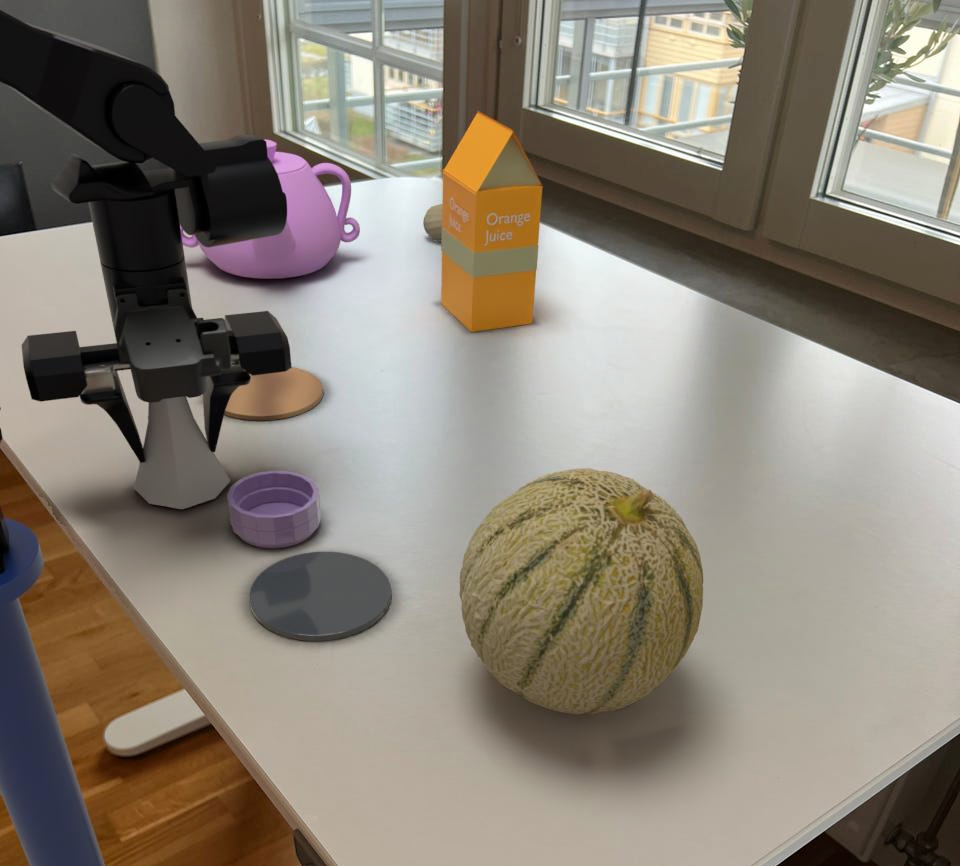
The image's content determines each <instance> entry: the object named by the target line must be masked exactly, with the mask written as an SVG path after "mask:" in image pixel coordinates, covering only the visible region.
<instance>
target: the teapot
mask: <svg viewBox="0 0 960 866" xmlns="http://www.w3.org/2000/svg"><path fill="white" fill-rule="evenodd" d="M264 140H265V141H266V143H267V154H268V158H269V159H270V161H271V162H272V164H273V166H274V168H275V170H276V172H277V174H278V177H279V180H280V183H281V187H282V191H283V192H284V193H285V194H286V199H287V220H286V225H285V228H284V230H283V231H282V233H280V234H278V235H275V236H269V237H264V238H258V239H253V240H248V241H242V242H237V243H231V244H226V245H220V246H215V247H210V248H209V247H205V246H203V245H202V244H201V243H200V242H199V241H198V240H197V238H196V237H195V235H191V237H189V236H187V235H185V234H184V230H183V229H182V227H181V225H180V229H181V236H182V243H183V247H186V248H191V249H192V248H196V247H198V246H199V248H200V250H201V251H202V253H203V254H204V255H205V256H206V257H207V259H209V260H210V261H211V262H212V263H213V264H214V265H215V266H216V267H217V268H218V269H220V270H222V271H223V272H225V273H228V274H231V275H235V276H238V277H242V278H251V279H263V280H264V279H267V280H269V279H274V280H275V279H287V278H295V277H300V276H305V275H309V274H312V273H314V272H317V271H319V270H321V269H323V268H324V267H325V266H326V265H327V264H328V263H329V262H330V261H331V260H332V258H333V257H334V255H335V254H336V252H337V251H338V249H339V248H340V245H341V242H343V243H352V242H353V241H356V240H357V239H358V238H359V236H360V232H361V227H360V224H359V222H358V220H357V219H356V218H354V217H347V216H348V211H349V208H350V204H351V203H350V202H351V196H352V182H351V179H350V176H349V174H348V173H347V172H346V171H345V170H344V169H343V168H342V167H340V166H339V165H336V164H334V163H330V162H322V163H318V164H316V165H314V166H313V167H311V166H310V164H309V163H308V161H307V160H306V159H304V158H303V157H301V156H299V155H297V154H293V153H289V152H283V151H276V150H277V145H278V144H277V142H276V141H273V140H271V139H264ZM324 174H325V175H326V174H327V175H328V174H329V175H333V176H336V177H338V178H339V180H340V182H341V198H340V203H339V208H338V210H337V211H338V213H337V211H336V208H335V206H334V204H333V202H332V199H331V197H330V195H329V194H328V191H327V190H326V189H325V186H324V185H323V184H322V182H321V180H320V179H319V177H318V176H320V175H324ZM348 225H350V226H352V230H351V231H349V232H346V230H345V226H348Z"/></svg>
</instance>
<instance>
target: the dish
mask: <svg viewBox="0 0 960 866" xmlns="http://www.w3.org/2000/svg"><path fill="white" fill-rule="evenodd" d="M317 486H318V485H317V483H316V482H315V481H314V480H312V479H311V478H309V477H308V476H307V475H305V474H302V473H298V472H295V471H289V470H267V471H259V472H254V473H252V474H250V475H247V476H244V477H242V478H240V479H239V480H237V481H235V483H233V484H232V485H231V486H230V488H229V490H228V492H227V495H226V500H227V507H228V514H229V518H230V519H229V520H230V525H231V529H232V531H233V533H234V534H236V535H237V536H238V537H239V538H240V539H241V540H242V541H243V542H245V543H247V544H249V545H251V546H255V547H258V548H264V549H280V548H281V549H282V548H289V547H292V546H296V545H298V544H301V543H302V542H304V541H306V540H308V539H309V538H310V537H311V536H312V535H313V534H314V533H315V531H316V530H317V529H318V527H319V526H320V523H321V519H322V515H321V502H320V491H319V488H318V487H317Z"/></svg>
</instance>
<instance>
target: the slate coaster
mask: <svg viewBox="0 0 960 866" xmlns="http://www.w3.org/2000/svg"><path fill="white" fill-rule="evenodd" d="M248 601H249V606H250V610H251V612H252V615H253V616H254V618H255V619H256V620H257V621H258V623H260V624H261V626H263V627H264V628H266V629H267V630H269V631H271V632H273V633H275V634H277V635H280V636H282V637H286V638H288V639H292V640H299V641H307V642H324V641H334V640H339V639H344V638H348V637H351V636H353V635H356V634H359V633H361V632H363V631H365V630H367V629H369V628H370V627H372V626H373V625H375V624H376V623H378V622H379V621H380V620H381V618H382V617H384V615H385V614H386V612H387V611H388V609H389V607H390V604H391V601H392V588H391V583H390V580H389V577H388V576H387V575H386V573H385V572H384V571H383V570H382V569H381V568H380V567H378V566H377V565H376V564H375V563H373V562H372V561H370V560H367V559H365V558H363V557H361V556H358V555H355V554H350V553H345V552H339V551H311V552H305V553H300V554H295V555H292V556H289V557H286V558H284V559H283V558H282V559H281V560H278V561H277V562H274V563H273V564H271V565H269V567H268V566H267V567H266V568H265V569H264V570H263V571H261V572H260V574H259V575H258V576H256V578H255V580H254V581H253V582H252V585H251V587H250V589H249V599H248Z"/></svg>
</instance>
